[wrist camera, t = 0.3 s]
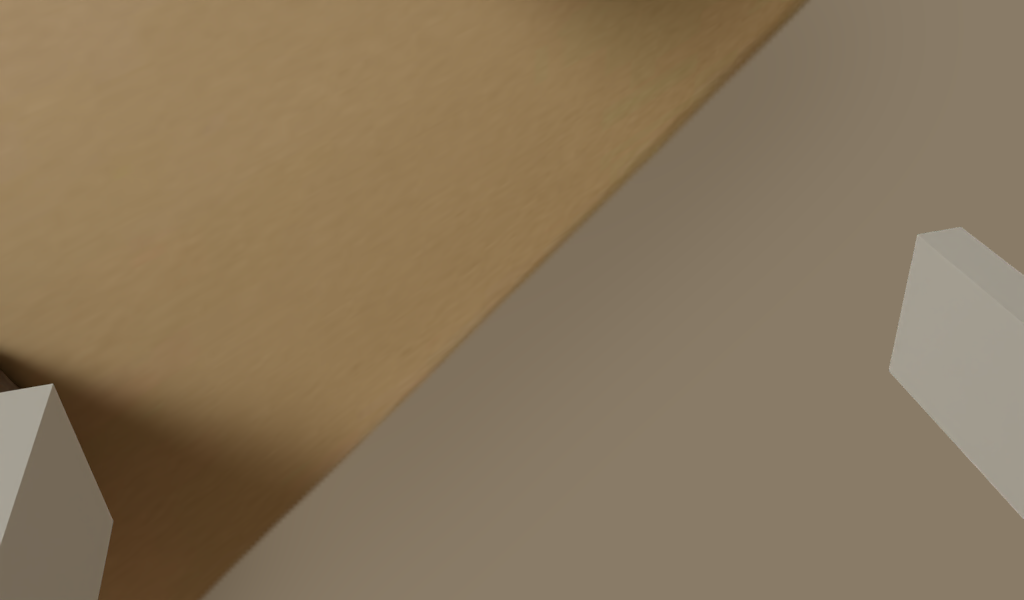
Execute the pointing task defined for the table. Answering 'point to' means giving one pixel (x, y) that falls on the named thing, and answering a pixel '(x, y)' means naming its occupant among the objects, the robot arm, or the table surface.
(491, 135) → the table surface
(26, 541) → the robot arm
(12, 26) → the table surface
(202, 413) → the table surface
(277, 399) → the table surface
